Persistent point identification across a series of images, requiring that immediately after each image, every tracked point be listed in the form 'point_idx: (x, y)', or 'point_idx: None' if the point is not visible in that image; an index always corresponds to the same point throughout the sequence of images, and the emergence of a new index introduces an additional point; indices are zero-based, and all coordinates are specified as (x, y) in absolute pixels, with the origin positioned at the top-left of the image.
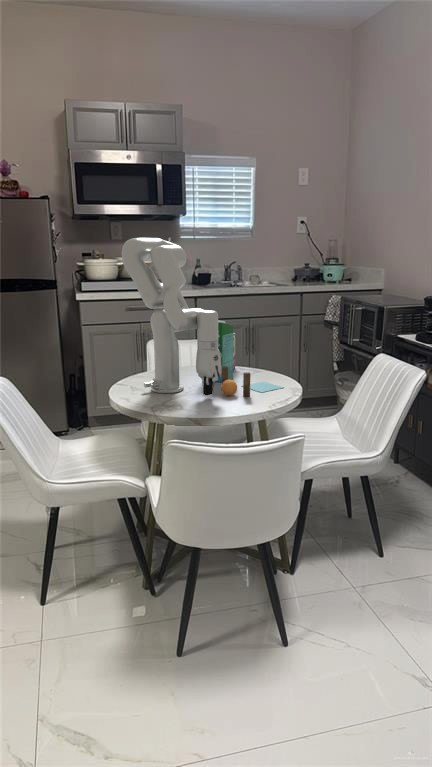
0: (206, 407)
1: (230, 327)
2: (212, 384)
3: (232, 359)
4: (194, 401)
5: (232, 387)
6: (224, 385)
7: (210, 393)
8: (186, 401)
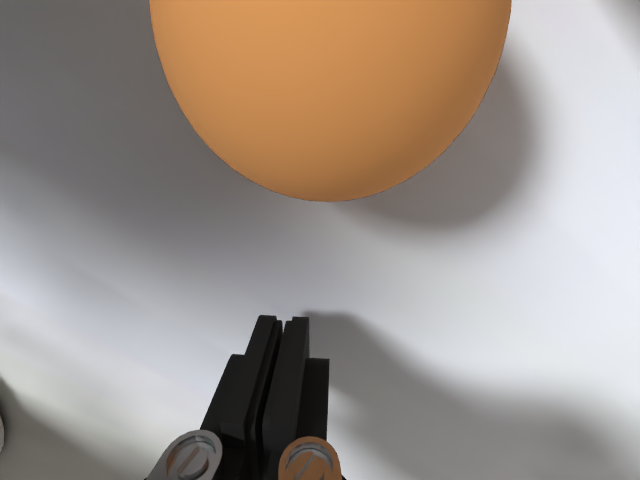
0: (485, 456)
1: None
2: (293, 420)
3: None
4: None
5: (489, 84)
6: (350, 199)
7: (308, 349)
8: None
